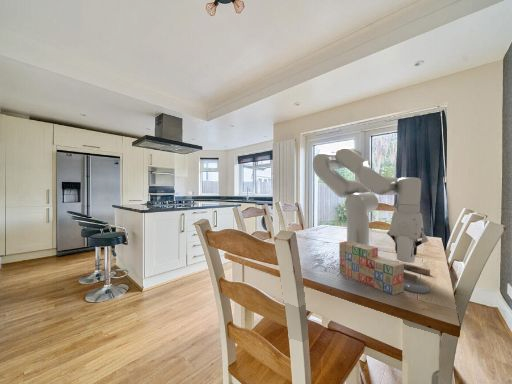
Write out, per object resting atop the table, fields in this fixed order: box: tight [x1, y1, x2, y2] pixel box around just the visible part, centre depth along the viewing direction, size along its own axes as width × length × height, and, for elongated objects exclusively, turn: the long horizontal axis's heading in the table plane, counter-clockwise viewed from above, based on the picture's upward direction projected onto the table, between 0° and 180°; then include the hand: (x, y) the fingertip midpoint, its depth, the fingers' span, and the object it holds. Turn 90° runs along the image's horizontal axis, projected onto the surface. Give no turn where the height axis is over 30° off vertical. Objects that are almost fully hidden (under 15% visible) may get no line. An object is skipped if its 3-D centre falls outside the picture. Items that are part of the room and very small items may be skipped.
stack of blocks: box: [338, 240, 405, 296], centre depth 78 cm, size 21×6×12 cm, turn 26°
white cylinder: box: [396, 235, 417, 264], centre depth 85 cm, size 7×7×10 cm
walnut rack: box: [396, 260, 431, 282], centre depth 85 cm, size 12×13×2 cm
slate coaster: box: [403, 279, 430, 295], centre depth 72 cm, size 9×9×1 cm
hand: (405, 254), depth 85 cm, fingers closed on white cylinder, 4 cm apart
